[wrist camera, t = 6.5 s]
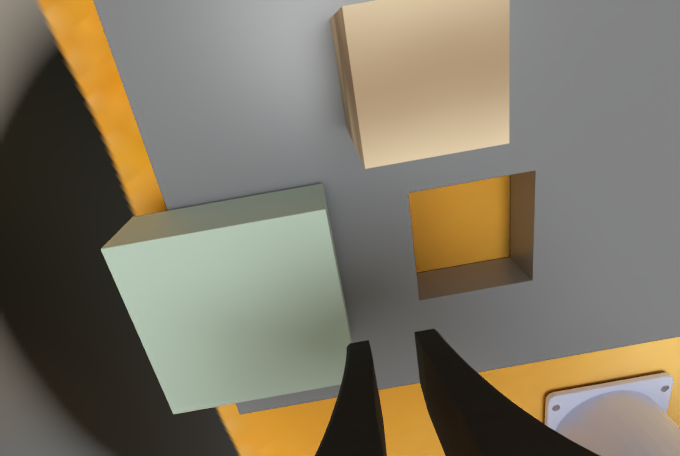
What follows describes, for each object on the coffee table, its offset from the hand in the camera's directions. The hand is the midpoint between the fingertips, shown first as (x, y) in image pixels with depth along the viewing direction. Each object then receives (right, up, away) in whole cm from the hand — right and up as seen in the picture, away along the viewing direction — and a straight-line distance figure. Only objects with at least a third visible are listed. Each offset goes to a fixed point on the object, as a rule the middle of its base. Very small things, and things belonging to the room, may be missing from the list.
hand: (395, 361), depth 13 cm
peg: (0, +10, +3) cm, 11 cm away
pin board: (+3, +6, +8) cm, 10 cm away
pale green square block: (-6, +2, +6) cm, 8 cm away
